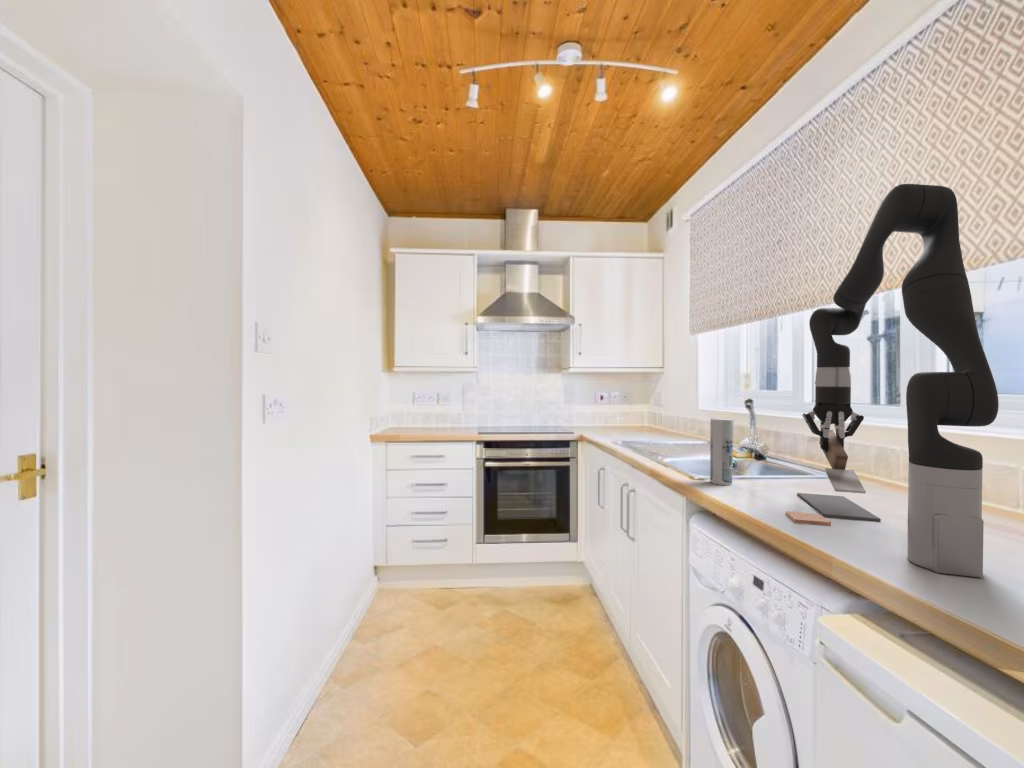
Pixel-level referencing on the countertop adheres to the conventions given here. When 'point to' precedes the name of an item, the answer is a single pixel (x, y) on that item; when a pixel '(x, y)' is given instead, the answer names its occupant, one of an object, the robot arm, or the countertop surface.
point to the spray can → (721, 451)
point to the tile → (808, 518)
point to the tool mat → (837, 507)
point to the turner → (840, 468)
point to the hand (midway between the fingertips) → (831, 451)
